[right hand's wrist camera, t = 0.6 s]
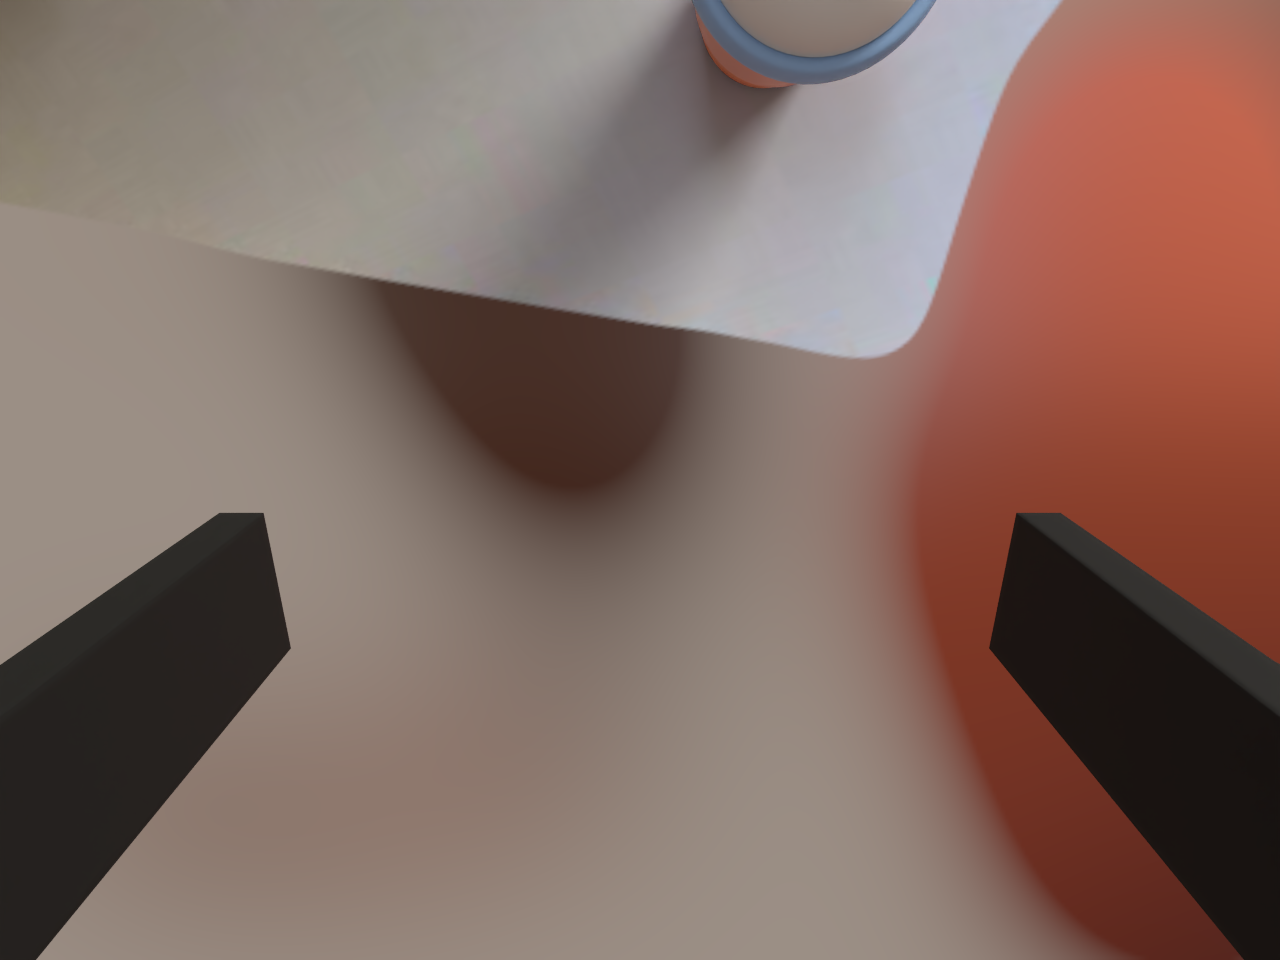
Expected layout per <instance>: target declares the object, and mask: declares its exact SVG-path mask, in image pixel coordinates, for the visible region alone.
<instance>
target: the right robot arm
mask: <svg viewBox="0 0 1280 960" xmlns="http://www.w3.org/2000/svg"><path fill="white" fill-rule="evenodd" d="M290 649H291V647H290V642H289V637H288V632H287V627H286V622H285V617H284V612H283V607H282V602H281V597H280V593H279V587H278V583H277V577H276V573H275V568H274V563H273V558H272V553H271V548H270V543H269V538H268V533H267V528H266V523H265V518H264V513H219V514H217V515H216V516H214V517H213V518H212V519H210V520H209V521H207V522H206V523H204V524H203V525H202V526H200V527H199V528H197V529H196V530H194V531H193V532H191V533H190V534H189V535H187V536H186V537H184V538H183V539H181V540H180V541H178V542H177V543H176V544H174V545H173V546H171V547H170V548H168V549H167V550H165V551H164V552H163V553H161V554H160V555H158V556H157V557H155V558H154V559H152V560H151V561H150V562H148V563H147V564H145V565H144V566H142V567H141V568H140V569H138V570H137V571H135V572H134V573H132V574H131V575H129V576H128V577H127V578H125V579H124V580H122V581H121V582H119V583H118V584H116V585H115V586H114V587H112V588H111V589H109V590H108V591H106V592H105V593H103V594H102V595H101V596H99V597H98V598H96V599H95V600H93V601H92V602H90V603H89V604H88V605H86V606H85V607H83V608H82V609H80V610H79V611H78V612H76V613H75V614H73V615H72V616H70V617H69V618H67V619H66V620H65V621H63V622H62V623H60V624H59V625H57V626H56V627H54V628H53V629H52V630H50V631H49V632H47V633H46V634H44V635H43V636H42V637H40V638H39V639H37V640H36V641H34V642H33V643H31V644H30V645H29V646H27V647H26V648H24V649H23V650H21V651H20V652H18V653H17V654H16V655H14V656H13V657H11V658H10V659H8V660H7V661H6V662H4V663H3V664H1V665H0V960H36V959H37V958H38V957H39V955H40V954H41V953H42V952H43V951H44V949H45V948H46V947H47V946H48V944H49V943H50V942H51V941H52V939H53V938H54V937H55V936H56V935H57V933H58V932H59V931H60V930H61V929H62V927H63V926H64V925H65V924H66V922H67V921H68V920H69V919H70V918H71V916H72V915H73V914H74V913H75V911H76V910H77V909H78V908H79V906H80V905H81V904H82V903H83V902H84V900H85V899H86V898H87V897H88V895H89V894H90V893H91V892H92V891H93V889H94V888H95V887H96V886H97V884H98V883H99V882H100V881H101V880H102V878H103V877H104V876H105V875H106V873H107V872H108V871H109V870H110V869H111V867H112V866H113V865H114V864H115V862H116V861H117V860H118V859H119V858H120V856H121V855H122V854H123V853H124V851H125V850H126V849H127V848H128V847H129V845H130V844H131V843H132V842H133V840H134V839H135V838H136V837H137V836H138V834H139V833H140V832H141V831H142V829H143V828H144V827H145V826H146V825H147V823H148V822H149V821H150V820H151V818H152V817H153V816H154V815H155V814H156V812H157V811H158V810H159V809H160V807H161V806H162V805H163V804H164V803H165V801H166V800H167V799H168V798H169V796H170V795H171V794H172V793H173V792H174V790H175V789H176V788H177V787H178V785H179V784H180V783H181V782H182V781H183V779H184V778H185V777H186V776H187V774H188V773H189V772H190V771H191V770H192V768H193V767H194V766H195V765H196V763H197V762H198V761H199V760H200V759H201V757H202V756H203V755H204V754H205V752H206V751H207V750H208V749H209V748H210V746H211V745H212V744H213V743H214V741H215V740H216V739H217V738H218V737H219V735H220V734H221V733H222V732H223V730H224V729H225V728H226V727H227V726H228V724H229V723H230V722H231V721H232V719H233V718H234V717H235V716H236V715H237V713H238V712H239V711H240V710H241V708H242V707H243V706H244V705H245V704H246V702H247V701H248V700H249V699H250V697H251V696H252V695H253V694H254V693H255V691H256V690H257V689H258V688H259V686H260V685H261V684H262V683H263V682H264V680H265V679H266V678H267V677H268V675H269V674H270V673H271V672H272V671H273V669H274V668H275V667H276V666H277V664H278V663H279V662H280V661H281V660H282V658H283V657H284V656H285V655H286V653H287V652H288V651H289V650H290ZM989 649H990V650H991V651H992V652H993V653H994V655H995V656H996V657H997V658H998V660H999V661H1000V662H1001V663H1002V664H1003V666H1004V667H1005V668H1006V669H1007V671H1008V672H1009V673H1010V674H1011V675H1012V677H1013V678H1014V679H1015V680H1016V682H1017V683H1018V684H1019V685H1020V686H1021V688H1022V689H1023V690H1024V691H1025V693H1026V694H1027V695H1028V696H1029V697H1030V699H1031V700H1032V701H1033V702H1034V704H1035V705H1036V706H1037V707H1038V708H1039V710H1040V711H1041V712H1042V713H1043V715H1044V716H1045V717H1046V718H1047V719H1048V721H1049V722H1050V723H1051V724H1052V726H1053V727H1054V728H1055V729H1056V730H1057V732H1058V733H1059V734H1060V735H1061V737H1062V738H1063V739H1064V740H1065V741H1066V743H1067V744H1068V745H1069V746H1070V748H1071V749H1072V750H1073V751H1074V752H1075V754H1076V755H1077V756H1078V757H1079V759H1080V760H1081V761H1082V762H1083V763H1084V765H1085V766H1086V767H1087V768H1088V770H1089V771H1090V772H1091V773H1092V774H1093V776H1094V777H1095V778H1096V779H1097V781H1098V782H1099V783H1100V784H1101V785H1102V787H1103V788H1104V789H1105V790H1106V792H1107V793H1108V794H1109V795H1110V796H1111V798H1112V799H1113V800H1114V801H1115V803H1116V804H1117V805H1118V806H1119V807H1120V809H1121V810H1122V811H1123V812H1124V814H1125V815H1126V816H1127V817H1128V818H1129V820H1130V821H1131V822H1132V823H1133V824H1134V826H1135V827H1136V828H1137V829H1138V831H1139V832H1140V833H1141V834H1142V836H1143V837H1144V838H1145V839H1146V840H1147V842H1148V843H1149V844H1150V845H1151V847H1152V848H1153V849H1154V850H1155V851H1156V853H1157V854H1158V855H1159V856H1160V858H1161V859H1162V860H1163V861H1164V862H1165V864H1166V865H1167V866H1168V867H1169V869H1170V870H1171V871H1172V872H1173V873H1174V875H1175V876H1176V877H1177V878H1178V880H1179V881H1180V882H1181V883H1182V884H1183V886H1184V887H1185V888H1186V889H1187V891H1188V892H1189V893H1190V894H1191V896H1192V897H1193V898H1194V899H1195V900H1196V902H1197V903H1198V904H1199V905H1200V906H1201V908H1202V909H1203V910H1204V911H1205V913H1206V914H1207V915H1208V916H1209V917H1210V919H1211V920H1212V921H1213V922H1214V924H1215V925H1216V926H1217V927H1218V929H1219V930H1220V931H1221V932H1222V933H1223V935H1224V936H1225V937H1226V938H1227V939H1228V941H1229V942H1230V943H1231V944H1232V946H1233V947H1234V948H1235V949H1236V950H1237V952H1238V953H1239V954H1240V955H1241V957H1242V958H1243V959H1244V960H1280V664H1279V663H1276V662H1275V661H1273V660H1272V659H1270V658H1269V657H1267V656H1266V655H1264V654H1263V653H1262V652H1260V651H1259V650H1257V649H1256V648H1254V647H1253V646H1252V645H1250V644H1248V643H1247V642H1246V641H1244V640H1243V639H1241V638H1240V637H1239V636H1237V635H1236V634H1234V633H1233V632H1231V631H1230V630H1228V629H1227V628H1226V627H1224V626H1223V625H1221V624H1220V623H1218V622H1217V621H1215V620H1214V619H1213V618H1211V617H1210V616H1208V615H1207V614H1205V613H1204V612H1202V611H1201V610H1200V609H1198V608H1197V607H1195V606H1194V605H1192V604H1191V603H1190V602H1188V601H1187V600H1185V599H1184V598H1182V597H1181V596H1179V595H1178V594H1177V593H1175V592H1174V591H1172V590H1171V589H1169V588H1168V587H1166V586H1165V585H1164V584H1162V583H1161V582H1159V581H1158V580H1156V579H1155V578H1153V577H1152V576H1151V575H1149V574H1148V573H1146V572H1145V571H1143V570H1142V569H1140V568H1139V567H1137V566H1136V565H1135V564H1133V563H1132V562H1130V561H1129V560H1127V559H1126V558H1125V557H1123V556H1122V555H1120V554H1119V553H1117V552H1116V551H1114V550H1113V549H1112V548H1110V547H1109V546H1107V545H1106V544H1104V543H1103V542H1102V541H1100V540H1099V539H1097V538H1096V537H1094V536H1093V535H1091V534H1090V533H1089V532H1087V531H1086V530H1084V529H1083V528H1081V527H1080V526H1078V525H1077V524H1076V523H1074V522H1073V521H1071V520H1070V519H1068V518H1067V517H1065V516H1064V515H1063V514H1061V513H1016V518H1015V523H1014V528H1013V533H1012V538H1011V543H1010V548H1009V553H1008V558H1007V563H1006V568H1005V573H1004V578H1003V582H1002V587H1001V592H1000V597H999V602H998V607H997V612H996V617H995V622H994V627H993V632H992V637H991V642H990V647H989Z"/></svg>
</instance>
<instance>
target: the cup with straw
mask: <svg viewBox="0 0 1280 960" xmlns="http://www.w3.org/2000/svg"><path fill="white" fill-rule="evenodd" d="M935 1H936V0H692V2H693V4H694V6H695V12H696V17H697V21H698V25H699V28H700V31H701V34H702V37H703V40H704V43H705V46H706V48H707V50H708V53H709V54H710V56H711V58H712V59H713V61H714V62H715V64H716V65H717V66H718V67H719V68H720V70H722V71H723V72H724V73H725V74H726V75H727V76H729V77H730V78H731V79H733V80H735V81H736V82H739V83H741V84H743V85H746V86H750V87H755V88H771V87H785V86H791V85H795V84H820V83H827V82H832V81H836V80H840V79H843V78H846V77H849V76H852V75H855V74H857V73H859V72H861V71H863V70H865V69H867V68H869V67H871V66H872V65H874V64H876V63H877V62H879V61H881V60H882V59H883V58H885V57H886V56H887V55H889V54H890V53H891V52H893V51H894V50H895V49H896V48H897V47H898V46H899V45H901V44H902V43H903V42H904V41H905V40H906V39H907V38H908V37H909V36H910V35H911V34H912V33H913V31H914V30H915V29H916V28H917V27H918V25H919V24H920V23H921V22H922V20H923V19H924V18H925V16H926V15H927V13H928V12H929V10H930V9H931V7H932V6H933V4H934V3H935Z"/></svg>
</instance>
